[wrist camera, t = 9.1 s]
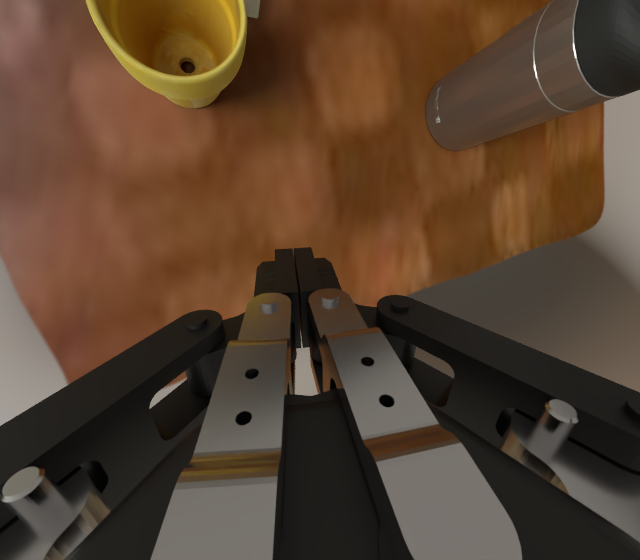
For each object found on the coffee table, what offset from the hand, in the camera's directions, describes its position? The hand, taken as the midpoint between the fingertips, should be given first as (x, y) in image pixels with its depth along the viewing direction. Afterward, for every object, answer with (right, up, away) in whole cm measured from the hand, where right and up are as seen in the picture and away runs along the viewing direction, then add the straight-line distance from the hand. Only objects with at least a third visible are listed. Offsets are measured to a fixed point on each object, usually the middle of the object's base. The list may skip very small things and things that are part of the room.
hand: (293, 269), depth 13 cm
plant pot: (-12, +20, +17) cm, 29 cm away
